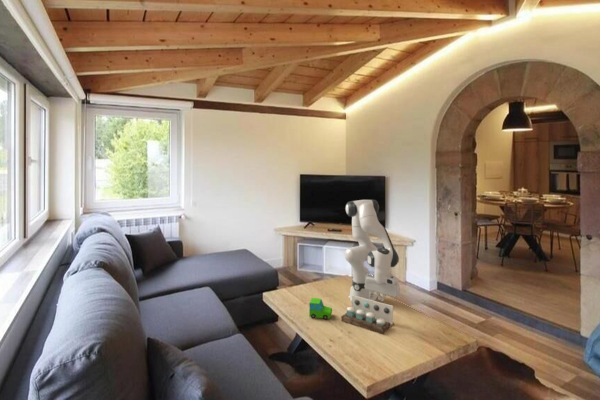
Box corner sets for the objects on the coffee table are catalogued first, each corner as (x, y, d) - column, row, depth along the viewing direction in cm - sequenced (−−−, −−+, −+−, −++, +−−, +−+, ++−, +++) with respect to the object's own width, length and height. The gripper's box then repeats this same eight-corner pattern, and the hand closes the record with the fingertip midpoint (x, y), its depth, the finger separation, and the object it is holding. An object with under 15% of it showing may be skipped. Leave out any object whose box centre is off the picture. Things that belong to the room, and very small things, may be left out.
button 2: (358, 315, 211) (358, 308, 211) (365, 317, 209) (366, 310, 208) (354, 318, 208) (355, 311, 207) (362, 320, 205) (362, 313, 204)
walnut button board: (349, 315, 218) (349, 310, 218) (390, 327, 202) (390, 322, 202) (341, 321, 211) (341, 316, 210) (383, 334, 194) (383, 329, 194)
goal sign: (353, 312, 223) (353, 294, 222) (393, 324, 207) (394, 305, 205) (350, 314, 220) (350, 296, 218) (391, 326, 204) (391, 307, 202)
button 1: (349, 312, 215) (349, 306, 215) (356, 314, 212) (356, 308, 212) (345, 315, 211) (345, 308, 211) (352, 317, 209) (352, 310, 208)
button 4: (378, 324, 204) (378, 317, 203) (386, 327, 201) (386, 319, 200) (374, 327, 200) (375, 320, 200) (382, 330, 197) (382, 323, 197)
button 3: (368, 318, 207) (368, 311, 207) (375, 320, 205) (376, 313, 204) (364, 321, 204) (364, 314, 203) (372, 323, 201) (372, 316, 200)
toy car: (330, 321, 211) (330, 305, 210) (309, 319, 213) (309, 303, 212) (332, 314, 221) (332, 298, 220) (311, 312, 223) (311, 297, 222)
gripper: (363, 274, 201) (362, 297, 203) (397, 282, 189) (395, 306, 190) (367, 271, 206) (367, 293, 208) (401, 279, 194) (400, 302, 195)
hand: (381, 300), depth 199 cm, fingers closed
